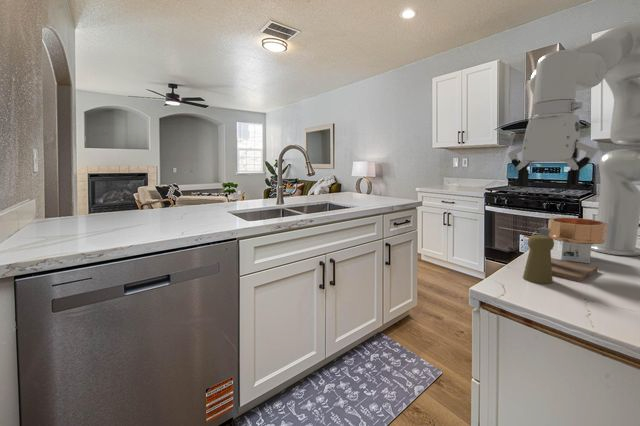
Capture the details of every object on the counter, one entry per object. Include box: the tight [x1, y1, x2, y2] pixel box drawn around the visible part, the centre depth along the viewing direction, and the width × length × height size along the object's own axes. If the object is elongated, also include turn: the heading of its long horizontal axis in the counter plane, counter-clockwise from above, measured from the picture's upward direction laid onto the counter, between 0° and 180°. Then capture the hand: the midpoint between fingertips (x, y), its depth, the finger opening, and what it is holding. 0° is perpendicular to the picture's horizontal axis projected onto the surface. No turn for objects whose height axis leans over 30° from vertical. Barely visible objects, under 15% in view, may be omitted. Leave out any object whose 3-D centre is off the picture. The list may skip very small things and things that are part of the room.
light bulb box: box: [556, 240, 592, 264], centre depth 92 cm, size 11×7×11 cm, turn 148°
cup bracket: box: [538, 217, 608, 283], centre depth 80 cm, size 12×13×14 cm
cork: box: [522, 234, 555, 285], centre depth 75 cm, size 6×6×11 cm
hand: (545, 187), depth 73 cm, fingers open, 9 cm apart
